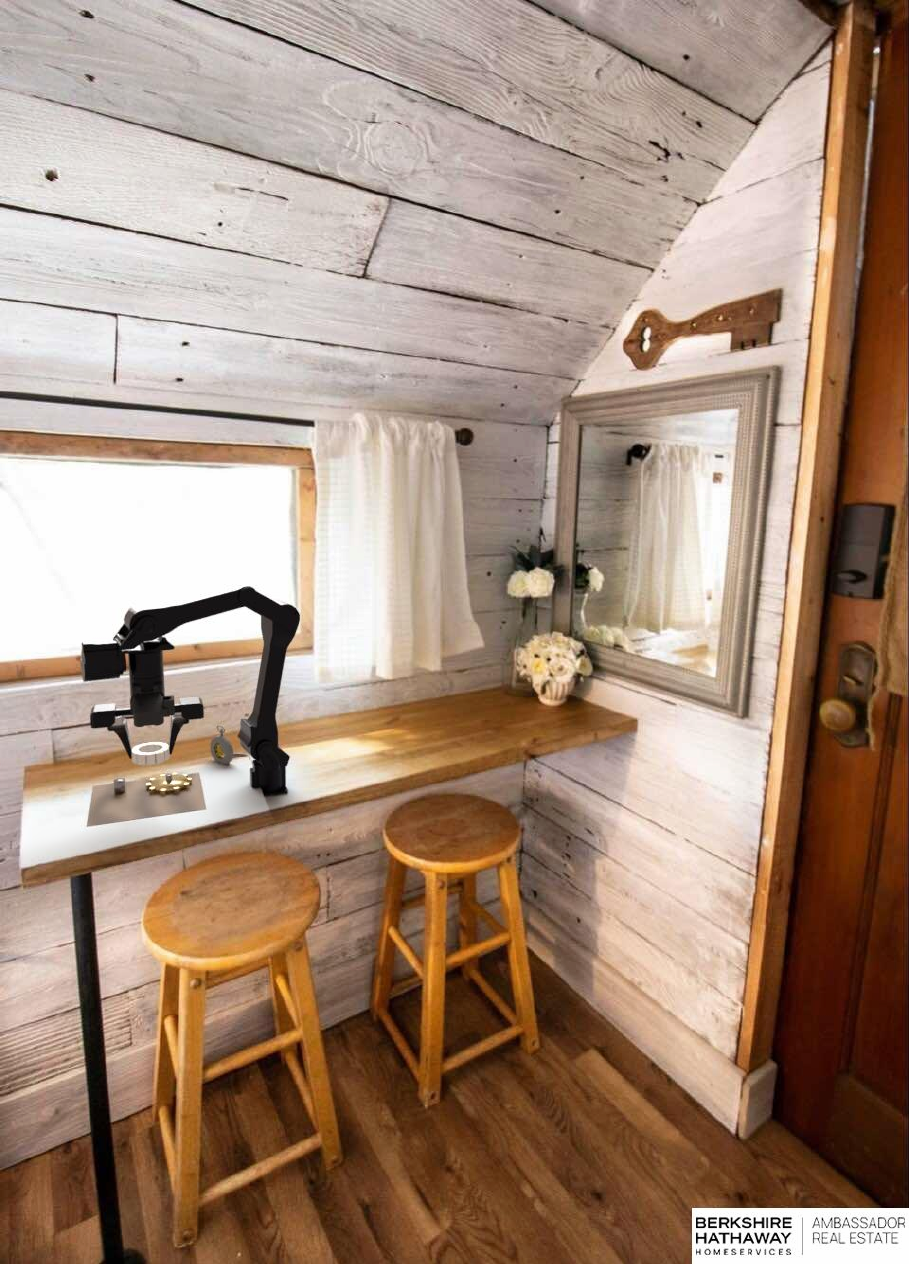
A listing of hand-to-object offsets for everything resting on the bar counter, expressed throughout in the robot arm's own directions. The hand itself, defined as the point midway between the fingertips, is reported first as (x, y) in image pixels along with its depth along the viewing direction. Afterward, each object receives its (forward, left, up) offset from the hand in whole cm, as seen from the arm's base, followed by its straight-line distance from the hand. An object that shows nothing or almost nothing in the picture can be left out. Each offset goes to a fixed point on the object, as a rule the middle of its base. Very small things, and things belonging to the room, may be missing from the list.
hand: (150, 755), depth 127 cm
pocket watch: (-16, -20, -12) cm, 28 cm away
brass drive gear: (-3, -9, -10) cm, 14 cm away
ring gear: (0, 0, 0) cm, 0 cm away
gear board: (+1, -5, -12) cm, 13 cm away
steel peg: (+6, -9, -10) cm, 15 cm away
